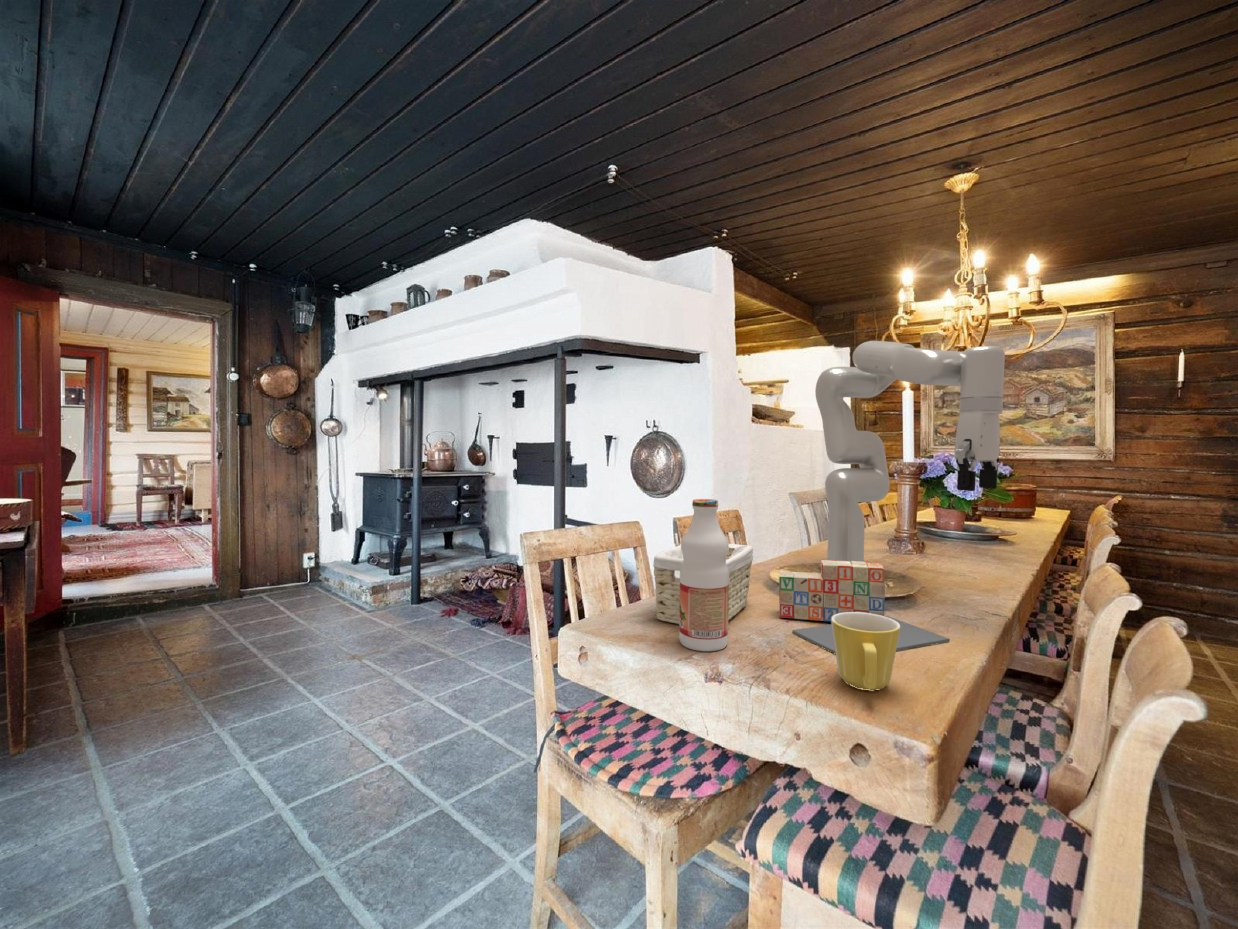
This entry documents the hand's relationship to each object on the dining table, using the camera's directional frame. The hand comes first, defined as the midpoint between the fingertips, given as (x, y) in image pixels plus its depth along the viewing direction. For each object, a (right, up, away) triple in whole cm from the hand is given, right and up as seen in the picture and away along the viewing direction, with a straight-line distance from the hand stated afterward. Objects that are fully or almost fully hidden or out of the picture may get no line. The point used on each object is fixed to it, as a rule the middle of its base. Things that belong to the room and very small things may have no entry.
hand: (977, 489), depth 116 cm
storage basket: (-55, -29, +10) cm, 63 cm away
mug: (-36, -31, -27) cm, 55 cm away
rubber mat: (-25, -30, -4) cm, 39 cm away
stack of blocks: (-29, -29, +6) cm, 41 cm away
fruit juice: (-59, -30, -8) cm, 66 cm away
